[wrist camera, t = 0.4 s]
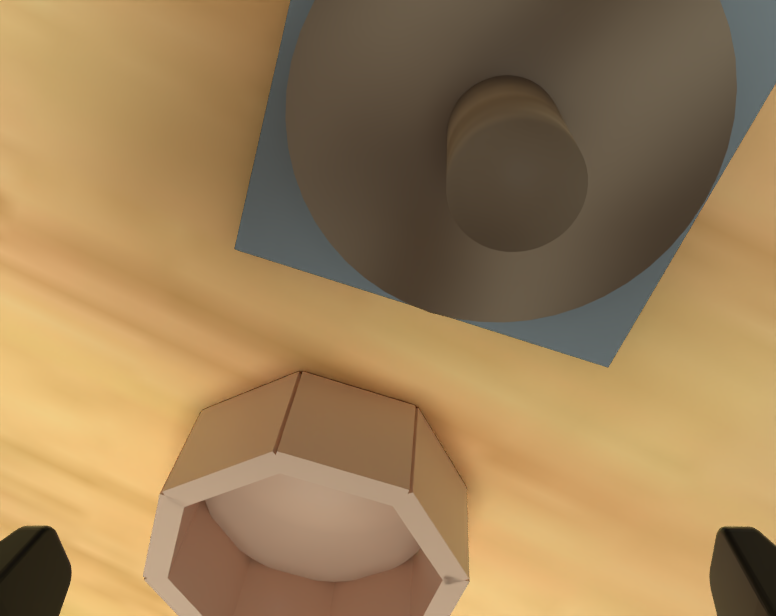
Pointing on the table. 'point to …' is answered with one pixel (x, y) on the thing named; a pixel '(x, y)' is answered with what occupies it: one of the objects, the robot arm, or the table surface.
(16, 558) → the robot arm
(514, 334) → the mat
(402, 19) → the lid
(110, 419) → the table surface
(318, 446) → the bowl
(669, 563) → the table surface
